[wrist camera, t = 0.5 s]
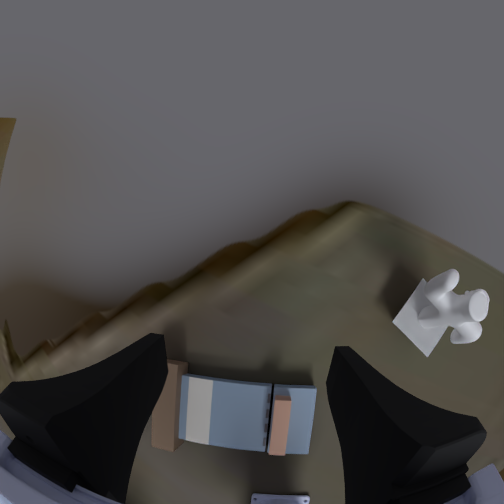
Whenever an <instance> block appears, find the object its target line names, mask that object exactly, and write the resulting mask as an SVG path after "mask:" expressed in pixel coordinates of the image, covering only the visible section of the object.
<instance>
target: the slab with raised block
mask: <svg viewBox="0 0 504 504" xmlns="http://www.w3.org/2000/svg"><path fill="white" fill-rule="evenodd" d="M316 391H317V388H316V387H315V386H307V385H282V384H274V395H273V405H272V414H271V424H270V433H269V441H268V450H267V453H269V455H282V456H285V454H308V451H309V445H310V438H311V431H312V424H313V416H314V408H315V400H316Z"/></svg>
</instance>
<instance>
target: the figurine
mask: <svg viewBox="0 0 504 504" xmlns="http://www.w3.org/2000/svg"><path fill="white" fill-rule="evenodd" d="M458 281H459V273H458V271H457V270H455V269H450V270H448V271H446V272H444V273H442V274H439V275H437V276H435V277H434V278H432V279H431V280H430V281H429V282H428V283H427V282H426V281H425V280H424V279H423V278H422V280H421V282H420V283H419V285H418V286H417V288H416V289H415V291H414V292H413V294H412V295H411V296H410V298H409V299H408V301H407V302H406V304H405V305H404V306H403V308H402V309H401V311H400V312H399V313H398V315H397V316H396V317H395V319H394V320H393V321H392V322H393V323H394V324H395V325H396V326H397V327H398V328H399V329H400V330H401V331H402V332H403V333H404V334H405V335H406V336H407V337H408V338H409V339H410V340H411V341H412V342H413V343H414V344H415V345H416V346H417V347H418V348H419V349H420V350H421V351H422V352H423V353H424V354H425V355H426V356H427V357H428V356H429V355H430V353H431V352H432V350H433V349H434V347H435V346H436V344H437V343H438V341H439V340H440V338H441V337H442V335H443V333H444V332H445V330H446V329H447V327H448V326H452V327H454V328H455V329H454V330H453V332H452V333H451V337H450V340H451V342H452V343H454V344H461V343H471V342H474V341H476V340H477V339H478V338H479V337H480V335H481V333H482V327H481V324H480V323H479V321H482V320H483V319H484V318H485V317H486V315H487V312H488V304H489V301H490V300H489V296H488V294H487V292H486V291H484V290H483V289H477V290H474V291H471V292H470V291H466V292H465V294H463V295H457V294H455V293H454V292H453V291H452V289H454V288H455V286H456V285H457V283H458Z"/></svg>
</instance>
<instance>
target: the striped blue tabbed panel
mask: <svg viewBox="0 0 504 504" xmlns="http://www.w3.org/2000/svg"><path fill="white" fill-rule="evenodd" d="M167 364H168V371H169V372H168V375H167V379H166V382H165V385H164V388H163V391H162V393H161V395H160V397H159V399H158V401H157V403H156V405H155V407H154V409H153V411H152V446H153V447H156V448H160V449H163V450H167V451H171V452H174V451H175V450H176V449H177V448H178V447H179V446H180V445H181V444H182V443H184V440H187V441H192V442H196V443H201V444H207V445H214V446H220V447H227V448H234V449H242V450H251V451H261V452H265V447H266V438H267V429H268V420H269V411H270V401H271V391H272V384H270V383H258V382H247V381H237V380H229V379H221V378H214V377H207V376H200V375H194V374H188V362H182V361H176V360H171V359H167Z"/></svg>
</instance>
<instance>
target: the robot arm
mask: <svg viewBox="0 0 504 504" xmlns="http://www.w3.org/2000/svg"><path fill="white" fill-rule="evenodd" d="M168 372H169V371H168V364H167V357H166V349H165V341H164V335H161V334H154V333H150V334H148V335H146V336H144V337H143V338H141V339H139V340H138V341H136V342H134V343H133V344H131V345H129V346H128V347H126V348H124V349H123V350H121V351H119V352H118V353H116V354H114V355H112V356H110V357H108V358H106V359H105V360H103V361H101V362H99V363H97V364H94V365H92V366H90V367H87V368H85V369H82V370H79V371H76V372H73V373H70V374H66V375H63V376H59V377H54V378H49V379H43V380H36V381H21V382H11V383H10V384H9V385H8V386H7V387H6V388H5V389H4V390H3V391H2V393H1V394H0V414H1V416H2V417H3V419H4V420H5V422H6V423H7V425H8V426H9V428H10V429H11V431H12V432H13V433H14V435H15V436H16V437H15V438H14V440H13V441H12V440H11V439H10V438H9V437H8V436H7V435H6V434H5V433H3V432H2V431H1V430H0V493H1V494H2V495H3V496H4V497H5V498H7V499H8V500H9V501H10V502H11V503H13V504H125V500H126V494H127V488H128V483H129V478H130V474H131V470H132V466H133V462H134V458H135V455H136V451H137V448H138V445H139V442H140V439H141V435H142V433H143V430H144V428H145V426H146V424H147V422H148V420H149V418H150V415H151V413H152V411H153V409H154V407H155V405H156V403H157V401H158V399H159V397H160V395H161V393H162V391H163V388H164V385H165V382H166V379H167V375H168ZM326 386H327V395H328V401H329V405H330V409H331V413H332V416H333V420H334V423H335V427H336V431H337V434H338V438H339V442H340V446H341V452H342V460H343V469H344V481H345V504H504V482H503V480H502V478H501V476H500V474H499V473H498V471H497V469H496V467H495V466H494V464H490V465H488V466H486V467H485V468H483V469H481V470H479V471H477V472H476V473H474V474H472V475H471V476H470V477H468V478H467V476H466V474H465V473H466V472H467V471H468V469H469V468H468V466H467V464H466V463H467V461H468V460H469V459H470V458H471V457H472V456H473V455H474V454H475V452H476V451H477V450H478V449H479V448H480V446H481V445H482V444H483V442H484V440H485V438H486V434H487V432H486V430H485V429H484V427H483V426H482V424H481V423H480V421H479V420H478V418H477V417H473V416H468V415H463V414H458V413H454V412H451V411H448V410H445V409H442V408H439V407H436V406H434V405H431V404H429V403H427V402H425V401H423V400H421V399H419V398H417V397H415V396H413V395H411V394H409V393H408V392H406V391H404V390H403V389H401V388H400V387H398V386H397V385H395V384H394V383H392V382H391V381H390V380H388V379H387V378H386V377H384V376H383V375H382V374H380V373H379V372H378V371H377V370H376V369H374V368H373V367H372V366H371V365H370V364H369V363H367V362H366V361H365V360H364V359H363V358H362V357H361V356H360V355H358V354H357V353H356V352H355V351H354V350H353V349H352V348H350V347H349V346H335V349H334V353H333V357H332V362H331V366H330V369H329V373H328V377H327V381H326ZM254 498H256V499H254ZM304 500H307V501H304ZM309 500H310V497H309V496H308V495H272V494H258V493H254V494H252V498H251V504H309Z"/></svg>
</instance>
